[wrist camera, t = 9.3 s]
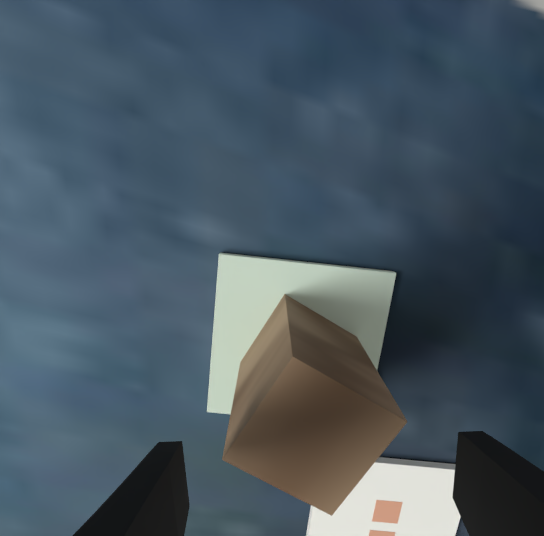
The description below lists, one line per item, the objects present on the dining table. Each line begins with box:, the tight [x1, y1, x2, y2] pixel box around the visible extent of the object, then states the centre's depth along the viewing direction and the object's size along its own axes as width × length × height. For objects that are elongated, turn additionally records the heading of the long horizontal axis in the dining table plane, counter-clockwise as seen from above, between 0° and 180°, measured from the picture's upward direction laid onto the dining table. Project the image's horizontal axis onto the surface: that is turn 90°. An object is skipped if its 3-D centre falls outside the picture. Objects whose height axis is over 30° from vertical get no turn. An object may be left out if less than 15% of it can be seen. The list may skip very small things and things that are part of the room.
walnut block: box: [222, 294, 407, 516], centre depth 13 cm, size 4×4×6 cm
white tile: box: [306, 457, 461, 536], centre depth 18 cm, size 8×8×1 cm
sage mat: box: [207, 253, 396, 414], centre depth 16 cm, size 8×8×1 cm
